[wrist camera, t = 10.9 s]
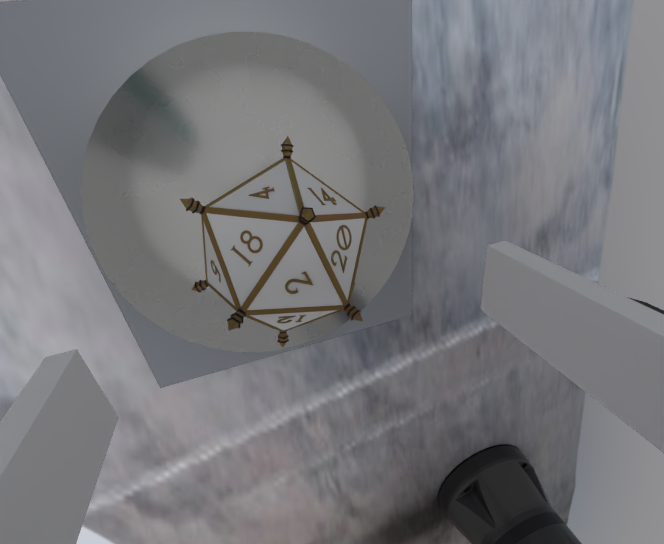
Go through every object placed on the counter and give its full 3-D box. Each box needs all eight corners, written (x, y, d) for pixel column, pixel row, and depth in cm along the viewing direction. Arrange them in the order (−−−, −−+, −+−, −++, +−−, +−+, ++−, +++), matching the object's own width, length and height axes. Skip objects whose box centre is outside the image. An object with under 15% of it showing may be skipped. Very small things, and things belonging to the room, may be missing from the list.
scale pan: (401, 299, 27) (413, 312, 25) (164, 364, 23) (160, 384, 22) (396, 22, 18) (414, 14, 17) (18, 59, 15) (-7, 53, 13)
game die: (253, 177, 21) (276, 45, 12) (362, 253, 22) (459, 188, 13) (159, 294, 18) (91, 241, 9) (290, 374, 20) (350, 402, 10)
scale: (391, 291, 32) (412, 315, 28) (167, 352, 28) (160, 387, 24) (379, -24, 21) (411, -49, 17) (5, 1, 17) (-51, -25, 13)
